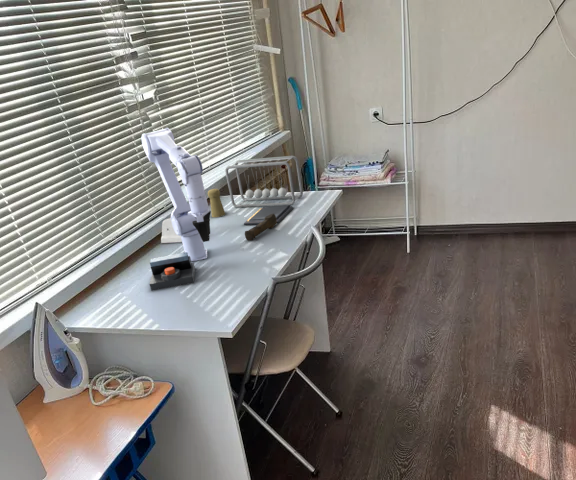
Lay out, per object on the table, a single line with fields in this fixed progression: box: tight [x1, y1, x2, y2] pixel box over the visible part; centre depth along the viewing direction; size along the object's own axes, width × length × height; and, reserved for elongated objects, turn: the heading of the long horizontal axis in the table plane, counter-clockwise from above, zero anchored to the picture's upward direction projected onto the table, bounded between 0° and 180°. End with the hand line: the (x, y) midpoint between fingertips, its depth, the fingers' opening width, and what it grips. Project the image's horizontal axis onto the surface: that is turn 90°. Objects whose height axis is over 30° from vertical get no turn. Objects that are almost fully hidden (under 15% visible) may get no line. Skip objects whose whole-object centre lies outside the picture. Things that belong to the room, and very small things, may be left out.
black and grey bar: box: [149, 251, 193, 275], centre depth 202 cm, size 4×13×4 cm, turn 96°
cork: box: [207, 188, 226, 218], centre depth 257 cm, size 6×6×11 cm
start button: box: [165, 267, 175, 275], centre depth 196 cm, size 3×3×2 cm
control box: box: [149, 262, 196, 292], centre depth 201 cm, size 13×14×4 cm
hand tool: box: [244, 214, 278, 242], centre depth 229 cm, size 19×4×5 cm, turn 146°
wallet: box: [243, 205, 294, 226], centre depth 246 cm, size 20×2×15 cm
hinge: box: [160, 217, 182, 244], centre depth 237 cm, size 17×5×10 cm, turn 73°
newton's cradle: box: [224, 155, 304, 209], centre depth 260 cm, size 30×10×18 cm, turn 68°
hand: (206, 237), depth 200 cm, fingers open, 7 cm apart
